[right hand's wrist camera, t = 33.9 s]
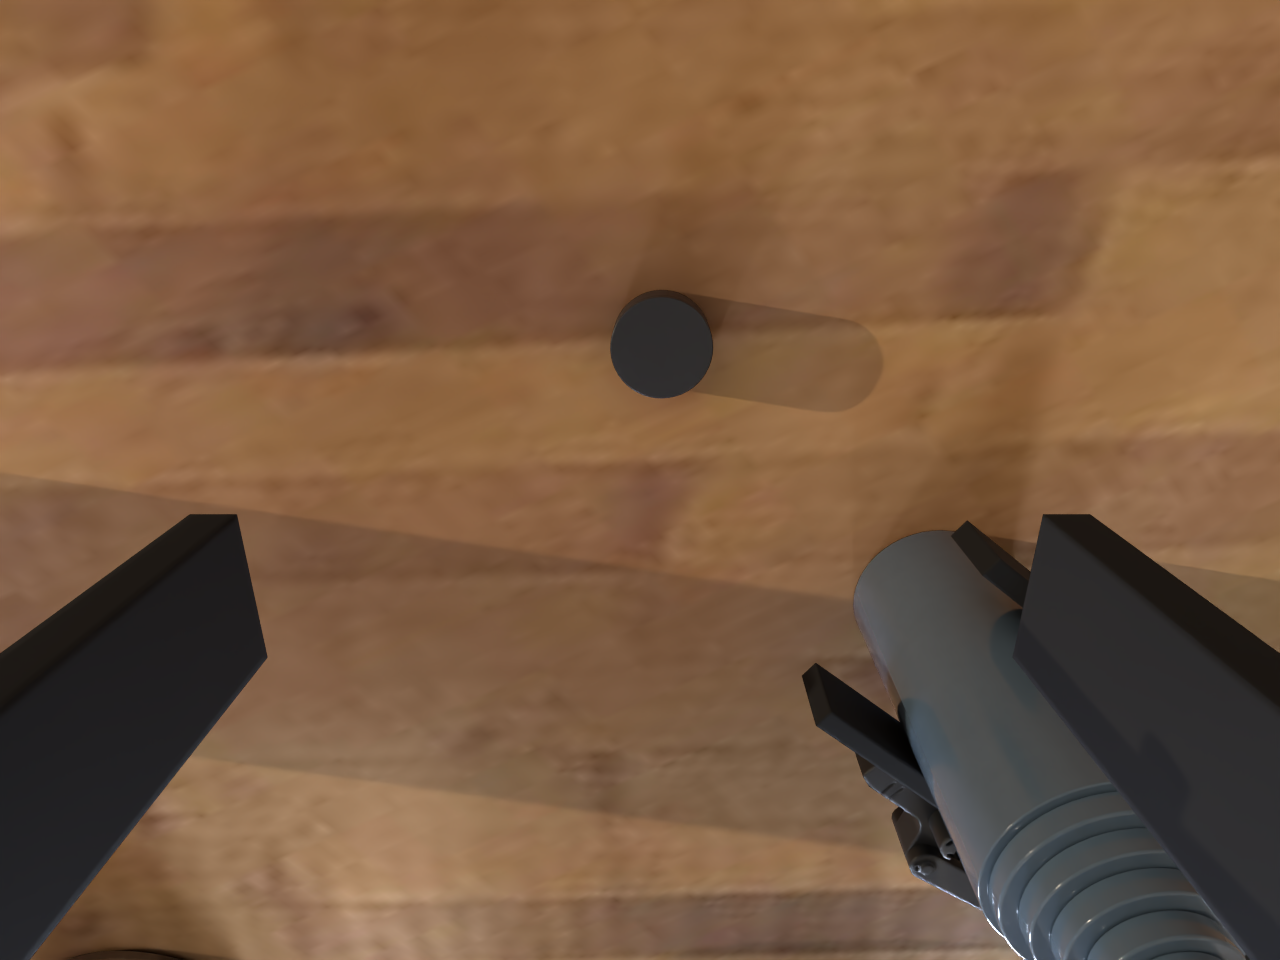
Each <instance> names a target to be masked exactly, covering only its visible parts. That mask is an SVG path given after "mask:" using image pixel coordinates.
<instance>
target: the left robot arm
mask: <svg viewBox="0 0 1280 960" xmlns="http://www.w3.org/2000/svg"><path fill="white" fill-rule="evenodd" d="M951 537H952V538H953V540H954V541H955V542H956V543H957V545H958V546H959V547H960V548H961V550H962V551H963V552H964V553H965V555H966V556H967V557H968V558H969V560H970V561H971V562H972V564H973V565H974V566H975V567H976V569H977V570H978V571H979V572H980V574H981V575H982V576H983V577H984V578H986V579H987V580H988V581H989V582H991V583H992V584H993V585H994V586H996V587H997V588H998V589H1000V590H1001V591H1002V592H1003V593H1005V594H1006V595H1007V596H1008V597H1010V598H1011V599H1012V600H1013V601H1015V602H1016V603H1017V604H1018V605H1020V606H1021V607H1022V608H1023V606H1024V601H1025V597H1026V592H1027V587H1028V583H1029V578H1030V573H1031V572H1030V571H1029V570H1028V569H1026V568H1025V567H1024V566H1023V565H1021V564H1020V563H1019V562H1018V561H1017V560H1015V559H1014V558H1013V557H1012V556H1010V555H1009V554H1008V553H1007V552H1005V551H1004V550H1003V549H1002V548H1001V547H999V546H998V545H997V544H996V543H994V542H993V541H992V540H991V539H989V538H988V537H987V536H986V535H985V534H983V533H982V532H981V531H980V530H978V529H977V528H976V527H975V526H973V525H972V524H971V523H970V522H969V521H966V522H965V523H964V524H963V525H962V526H961V527H960V528H959V529H958V530H957V531H956V532H954V533H953V534H952V535H951ZM802 678H803V682H804V685H805V689H806V692H807V696H808V699H809V703H810V706H811V710H812V714H813V717H814V721H815V724H816V726H817V727H819V728H820V729H822V730H823V731H825V732H826V733H828V734H829V735H830V736H832V737H833V738H835V739H836V740H838V741H839V742H841V743H842V744H844V745H845V746H847V747H848V748H849V749H851V750H852V751H854V752H855V754H856V757H857V760H858V763H859V766H860V769H861V772H862V775H863V777H864V779H865V781H866V782H867V784H868V785H869V787H871V788H872V789H874V790H875V791H877V792H878V793H881V795H883V796H884V797H885V798H887V799H889V800H890V801H891V802H893V803H894V804H896V805H897V806H899V807H898V808H897V809H895V810H894V812H893V813H892V820H893V823H894V826H895V829H896V832H897V835H898V837H899V840H900V843H901V846H902V849H903V851H904V854H905V857H906V860H907V862H908V865H909V868H910V870H911V873H912V874H913V875H914V876H916V877H917V878H919V879H921V880H923V881H925V882H927V883H929V884H931V885H933V886H935V887H937V888H939V889H941V890H943V891H945V892H947V893H949V894H951V895H953V896H955V897H956V898H958V899H960V900H962V901H964V902H966V903H968V904H970V905H972V906H974V907H976V908H978V909H980V910H982V909H981V907H980V904H979V902H978V900H977V897H976V895H975V893H974V891H973V888H972V886H971V884H970V881H969V879H968V877H967V875H966V872H965V870H964V868H963V865H962V863H961V861H960V859H959V856H958V854H957V852H956V849H955V847H954V845H953V842H952V840H951V838H950V836H949V833H948V831H947V829H946V826H945V824H944V822H943V820H942V817H941V815H940V813H939V810H938V808H937V806H936V803H935V801H934V799H933V797H932V794H931V792H930V790H929V787H928V785H927V783H926V781H925V778H924V776H923V774H922V771H921V769H920V767H919V764H918V762H917V760H916V758H915V755H914V753H913V751H912V748H911V746H910V744H909V742H908V739H907V737H906V735H905V732H904V730H903V728H902V725H901V723H900V722H899V721H897V720H896V719H895V718H893V717H892V716H890V715H889V714H887V713H886V712H885V711H883V710H882V709H880V708H879V707H878V706H876V705H875V704H873V703H872V702H870V701H869V700H868V699H866V698H865V697H863V696H862V695H861V694H859V693H858V692H856V691H855V690H854V689H852V688H851V687H849V686H848V685H846V684H845V683H844V682H842V681H841V680H839V679H838V678H837V677H835V676H834V675H832V674H831V673H829V672H828V671H827V670H825V669H824V668H822V667H821V666H820V665H818V664H817V663H815V664H814V665H813V666H812V667H811V668H810V669H809V670H808V671H806V672H805V673H804V674H803V675H802ZM1245 958H1246V960H1250V959H1249V957H1248V956H1247V955H1245Z"/></svg>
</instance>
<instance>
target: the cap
mask: <svg viewBox="0 0 1280 960" xmlns="http://www.w3.org/2000/svg"><path fill="white" fill-rule="evenodd" d="M610 351H611V358H612V362H613V365H614V368H615V370H616V372H617V373H618V375H619V377H620V378H621V379H622V381H623V382H624V383H625V384H626V385H627V386H629V387H630V388H631V389H633V390H634V391H636V392H638V393H640V394H642V395H645V396H648V397H653V398H670V397H675V396H678V395H681V394H683V393H685V392H687V391H689V390H690V389H692V388H693V387H694V386H695V385H697V384H698V383H699V381H700V380H701V379H702V378H703V377H704V375H705V374H706V372H707V370H708V368H709V365H710V363H711V359H712V354H713V341H712V335H711V332H710V329H709V326H708V323H707V320H706V318H705V316H704V314H703V312H702V311H701V309H700V308H699V307H698V306H697V305H696V304H695V303H694V302H693V301H692V300H691V299H689V298H687V297H686V296H684V295H682V294H680V293H677V292H673V291H668V290H656V291H651V292H647V293H644V294H641V295H640V296H638V297H636V298H634V299H633V300H632V301H630V302H629V303H628V304H627V305H626V306H625V307H624V309H623V310H622V311H621V313H620V314H619V316H618V318H617V320H616V323H615V326H614V330H613V334H612V337H611V347H610Z"/></svg>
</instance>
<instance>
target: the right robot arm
mask: <svg viewBox="0 0 1280 960" xmlns="http://www.w3.org/2000/svg"><path fill="white" fill-rule="evenodd" d="M266 659H267V653H266V648H265V643H264V639H263V634H262V629H261V625H260V620H259V615H258V611H257V606H256V601H255V597H254V592H253V587H252V583H251V578H250V573H249V569H248V564H247V559H246V555H245V550H244V545H243V541H242V536H241V531H240V527H239V522H238V517H237V514H190V515H188V516H187V517H186V518H184V519H183V520H182V521H180V522H179V523H177V524H176V525H175V526H173V527H172V528H171V529H169V530H168V531H167V532H165V533H164V534H162V535H161V536H160V537H158V538H157V539H156V540H154V541H153V542H152V543H150V544H149V545H147V546H146V547H145V548H143V549H142V550H141V551H139V552H138V553H137V554H135V555H134V556H132V557H131V558H130V559H128V560H127V561H126V562H124V563H123V564H122V565H120V566H119V567H117V568H116V569H115V570H113V571H112V572H111V573H109V574H108V575H107V576H105V577H104V578H102V579H101V580H100V581H98V582H97V583H96V584H94V585H93V586H92V587H90V588H89V589H87V590H86V591H85V592H83V593H82V594H81V595H79V596H78V597H77V598H75V599H74V600H72V601H71V602H70V603H68V604H67V605H66V606H64V607H63V608H62V609H60V610H59V611H57V612H56V613H55V614H53V615H52V616H51V617H49V618H48V619H47V620H45V621H44V622H42V623H41V624H40V625H38V626H37V627H36V628H34V629H33V630H32V631H30V632H29V633H27V634H26V635H25V636H23V637H22V638H21V639H19V640H18V641H17V642H15V643H14V644H12V645H11V646H10V647H8V648H7V649H6V650H4V651H3V652H2V653H0V960H30V959H31V957H32V956H33V955H34V954H35V952H36V951H37V950H38V948H39V947H40V946H41V945H42V943H43V942H44V941H45V940H46V938H47V937H48V936H49V934H50V933H51V932H52V931H53V929H54V928H55V927H56V926H57V924H58V923H59V922H60V921H61V919H62V918H63V917H64V915H65V914H66V913H67V912H68V910H69V909H70V908H71V907H72V905H73V904H74V903H75V901H76V900H77V899H78V898H79V896H80V895H81V894H82V893H83V891H84V890H85V889H86V887H87V886H88V885H89V884H90V882H91V881H92V880H93V879H94V877H95V876H96V875H97V873H98V872H99V871H100V870H101V868H102V867H103V866H104V865H105V863H106V862H107V861H108V860H109V858H110V857H111V856H112V854H113V853H114V852H115V851H116V849H117V848H118V847H119V846H120V844H121V843H122V842H123V840H124V839H125V838H126V837H127V835H128V834H129V833H130V832H131V830H132V829H133V828H134V826H135V825H136V824H137V823H138V821H139V820H140V819H141V818H142V816H143V815H144V814H145V812H146V811H147V810H148V809H149V807H150V806H151V805H152V804H153V802H154V801H155V800H156V799H157V797H158V796H159V795H160V793H161V792H162V791H163V790H164V788H165V787H166V786H167V785H168V783H169V782H170V781H171V779H172V778H173V777H174V776H175V774H176V773H177V772H178V771H179V769H180V768H181V767H182V765H183V764H184V763H185V762H186V760H187V759H188V758H189V757H190V755H191V754H192V753H193V751H194V750H195V749H196V748H197V746H198V745H199V744H200V743H201V741H202V740H203V739H204V738H205V736H206V735H207V734H208V732H209V731H210V730H211V729H212V727H213V726H214V725H215V724H216V722H217V721H218V720H219V718H220V717H221V716H222V715H223V713H224V712H225V711H226V710H227V708H228V707H229V706H230V704H231V703H232V702H233V701H234V699H235V698H236V697H237V696H238V694H239V693H240V692H241V691H242V689H243V688H244V687H245V685H246V684H247V683H248V682H249V680H250V679H251V678H252V677H253V675H254V674H255V673H256V671H257V670H258V669H259V668H260V666H261V665H262V664H263V663H264V661H265V660H266ZM1013 659H1014V660H1015V661H1016V663H1017V664H1018V665H1019V666H1020V668H1021V669H1022V670H1023V671H1024V673H1025V674H1026V675H1027V677H1028V678H1029V679H1030V680H1031V682H1032V683H1033V684H1034V685H1035V687H1036V688H1037V689H1038V691H1039V692H1040V693H1041V694H1042V696H1043V697H1044V698H1045V699H1046V701H1047V702H1048V703H1049V704H1050V706H1051V707H1052V708H1053V710H1054V711H1055V712H1056V713H1057V715H1058V716H1059V717H1060V718H1061V720H1062V721H1063V722H1064V724H1065V725H1066V726H1067V727H1068V729H1069V730H1070V731H1071V732H1072V734H1073V735H1074V736H1075V738H1076V739H1077V740H1078V741H1079V743H1080V744H1081V745H1082V746H1083V748H1084V749H1085V750H1086V752H1087V753H1088V754H1089V755H1090V757H1091V758H1092V759H1093V760H1094V762H1095V763H1096V764H1097V765H1098V767H1099V768H1100V769H1101V771H1102V772H1103V773H1104V774H1105V776H1106V777H1107V778H1108V779H1109V781H1110V782H1111V783H1112V785H1113V786H1114V787H1115V788H1116V790H1117V791H1118V792H1119V793H1120V795H1121V796H1122V797H1123V799H1124V800H1125V801H1126V802H1127V804H1128V805H1129V806H1130V807H1131V809H1132V810H1133V811H1134V812H1135V814H1136V815H1137V816H1138V818H1139V819H1140V820H1141V821H1142V823H1143V824H1144V825H1145V826H1146V828H1147V829H1148V830H1149V832H1150V833H1151V834H1152V835H1153V837H1154V838H1155V839H1156V840H1157V842H1158V843H1159V844H1160V846H1161V847H1162V848H1163V849H1164V851H1165V852H1166V853H1167V854H1168V856H1169V857H1170V858H1171V860H1172V861H1173V862H1174V863H1175V865H1176V866H1177V867H1178V868H1179V870H1180V871H1181V872H1182V873H1183V875H1184V876H1185V877H1186V879H1187V880H1188V881H1189V882H1190V884H1191V885H1192V886H1193V887H1194V889H1195V890H1196V891H1197V893H1198V894H1199V895H1200V896H1201V898H1202V899H1203V900H1204V901H1205V903H1206V904H1207V905H1208V907H1209V908H1210V909H1211V910H1212V912H1213V913H1214V914H1215V915H1216V917H1217V918H1218V919H1219V921H1220V922H1221V923H1222V924H1223V926H1224V927H1225V928H1226V929H1227V931H1228V932H1229V933H1230V934H1231V936H1232V937H1233V938H1234V940H1235V941H1236V942H1237V943H1238V945H1239V946H1240V947H1241V948H1242V950H1243V951H1244V952H1245V954H1246V955H1247V956H1248V957H1249V959H1250V960H1280V653H1278V652H1277V651H1276V650H1274V649H1273V648H1272V647H1270V646H1269V645H1267V644H1266V643H1265V642H1263V641H1262V640H1261V639H1259V638H1258V637H1257V636H1255V635H1254V634H1253V633H1251V632H1250V631H1248V630H1247V629H1246V628H1244V627H1243V626H1242V625H1240V624H1239V623H1238V622H1236V621H1235V620H1233V619H1232V618H1231V617H1229V616H1228V615H1227V614H1225V613H1224V612H1223V611H1221V610H1220V609H1218V608H1217V607H1216V606H1214V605H1213V604H1212V603H1210V602H1209V601H1208V600H1206V599H1205V598H1203V597H1202V596H1201V595H1199V594H1198V593H1197V592H1195V591H1194V590H1193V589H1191V588H1190V587H1188V586H1187V585H1186V584H1184V583H1183V582H1182V581H1180V580H1179V579H1178V578H1176V577H1175V576H1173V575H1172V574H1171V573H1169V572H1168V571H1167V570H1165V569H1164V568H1163V567H1161V566H1160V565H1158V564H1157V563H1156V562H1154V561H1153V560H1152V559H1150V558H1149V557H1148V556H1146V555H1145V554H1143V553H1142V552H1141V551H1139V550H1138V549H1137V548H1135V547H1134V546H1133V545H1131V544H1130V543H1128V542H1127V541H1126V540H1124V539H1123V538H1122V537H1120V536H1119V535H1118V534H1116V533H1115V532H1113V531H1112V530H1111V529H1109V528H1108V527H1107V526H1105V525H1104V524H1103V523H1101V522H1100V521H1098V520H1097V519H1096V518H1094V517H1093V516H1092V515H1090V514H1043V517H1042V522H1041V527H1040V531H1039V536H1038V541H1037V545H1036V550H1035V555H1034V559H1033V564H1032V569H1031V573H1030V578H1029V583H1028V587H1027V592H1026V597H1025V601H1024V606H1023V611H1022V615H1021V620H1020V625H1019V629H1018V634H1017V639H1016V643H1015V648H1014V653H1013ZM68 960H179V959H176V958H172V957H168V956H163V955H158V954H152V953H146V952H136V951H105V952H96V953H90V954H85V955H80V956H77V957H74V958H71V959H68Z"/></svg>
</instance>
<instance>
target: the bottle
mask: <svg viewBox="0 0 1280 960" xmlns="http://www.w3.org/2000/svg"><path fill="white" fill-rule="evenodd" d="M953 533H954V531H943V530H940V531H927V532H921V533H917V534H913V535H910V536H908V537H905V538H902V539H900V540H898V541H896V542H894V543H892V544H891V545H889V546H888V547H886V548H885V549H883V550H882V551H881V552H880V553H879V554H878V555H876V556H875V557H874V559H873V560H872V561H871V562H870V563H869V564H868V565H867V567H866V568H865V570H864V571H863V573H862V575H861V577H860V578H859V581H858V583H857V586H856V589H855V594H854V603H853V606H854V615H855V619H856V622H857V624H858V627H859V629H860V631H861V634H862V636H863V638H864V641H865V643H866V645H867V648H868V650H869V652H870V654H871V657H872V659H873V661H874V664H875V666H876V668H877V670H878V673H879V675H880V677H881V680H882V682H883V684H884V687H885V689H886V691H887V693H888V696H889V698H890V700H891V703H892V705H893V707H894V709H895V712H896V714H897V716H898V719H899V721H900V723H901V725H902V728H903V730H904V732H905V735H906V737H907V739H908V742H909V744H910V746H911V748H912V751H913V753H914V755H915V758H916V760H917V762H918V764H919V767H920V769H921V771H922V774H923V776H924V778H925V781H926V783H927V785H928V787H929V790H930V792H931V794H932V797H933V799H934V801H935V803H936V806H937V808H938V810H939V813H940V815H941V817H942V820H943V822H944V824H945V826H946V829H947V831H948V833H949V836H950V838H951V840H952V842H953V845H954V847H955V849H956V852H957V854H958V856H959V859H960V861H961V863H962V865H963V868H964V870H965V872H966V875H967V877H968V879H969V881H970V884H971V886H972V888H973V891H974V893H975V895H976V897H977V900H978V902H979V904H980V907H981V909H982V911H983V914H984V916H985V917H986V919H987V920H988V922H989V923H990V925H991V926H992V927H993V928H994V929H995V930H996V931H997V932H998V933H999V934H1000V935H1001V936H1003V937H1004V938H1005V940H1006V941H1007V943H1008V944H1009V946H1010V947H1011V948H1012V949H1013V950H1014V951H1015V952H1016V953H1017V954H1018V955H1019V956H1020V957H1022V958H1023V959H1024V960H1246V958H1245V955H1246V954H1245V952H1244V951H1243V950H1242V948H1241V947H1240V946H1239V945H1238V943H1237V942H1236V941H1235V940H1234V938H1233V937H1232V936H1231V934H1230V933H1229V932H1228V931H1227V929H1226V928H1225V927H1224V926H1223V924H1222V923H1221V922H1220V921H1219V919H1218V918H1217V917H1216V915H1215V914H1214V913H1213V912H1212V910H1211V909H1210V908H1209V907H1208V905H1207V904H1206V903H1205V901H1204V900H1203V899H1202V898H1201V896H1200V895H1199V894H1198V893H1197V891H1196V890H1195V889H1194V887H1193V886H1192V885H1191V884H1190V882H1189V881H1188V880H1187V879H1186V877H1185V876H1184V875H1183V873H1182V872H1181V871H1180V870H1179V868H1178V867H1177V866H1176V865H1175V863H1174V862H1173V861H1172V860H1171V858H1170V857H1169V856H1168V854H1167V853H1166V852H1165V851H1164V849H1163V848H1162V847H1161V846H1160V844H1159V843H1158V842H1157V840H1156V839H1155V838H1154V837H1153V835H1152V834H1151V833H1150V832H1149V830H1148V829H1147V828H1146V826H1145V825H1144V824H1143V823H1142V821H1141V820H1140V819H1139V818H1138V816H1137V815H1136V814H1135V812H1134V811H1133V810H1132V809H1131V807H1130V806H1129V805H1128V804H1127V802H1126V801H1125V800H1124V799H1123V797H1122V796H1121V795H1120V793H1119V792H1118V791H1117V790H1116V788H1115V787H1114V786H1113V785H1112V783H1111V782H1110V781H1109V779H1108V778H1107V777H1106V776H1105V774H1104V773H1103V772H1102V771H1101V769H1100V768H1099V767H1098V765H1097V764H1096V763H1095V762H1094V760H1093V759H1092V758H1091V757H1090V755H1089V754H1088V753H1087V752H1086V750H1085V749H1084V748H1083V746H1082V745H1081V744H1080V743H1079V741H1078V740H1077V739H1076V738H1075V736H1074V735H1073V734H1072V732H1071V731H1070V730H1069V729H1068V727H1067V726H1066V725H1065V724H1064V722H1063V721H1062V720H1061V718H1060V717H1059V716H1058V715H1057V713H1056V712H1055V711H1054V710H1053V708H1052V707H1051V706H1050V704H1049V703H1048V702H1047V701H1046V699H1045V698H1044V697H1043V696H1042V694H1041V693H1040V692H1039V691H1038V689H1037V688H1036V687H1035V685H1034V684H1033V683H1032V682H1031V680H1030V679H1029V678H1028V677H1027V675H1026V674H1025V673H1024V671H1023V670H1022V669H1021V668H1020V666H1019V665H1018V664H1017V663H1016V661H1015V660H1014V659H1013V653H1014V648H1015V643H1016V639H1017V634H1018V629H1019V625H1020V620H1021V615H1022V611H1023V608H1022V607H1021V606H1020V605H1018V604H1017V603H1016V602H1015V601H1013V600H1012V599H1011V598H1010V597H1008V596H1007V595H1006V594H1005V593H1003V592H1002V591H1001V590H1000V589H998V588H997V587H996V586H994V585H993V584H992V583H991V582H989V581H988V580H987V579H986V578H984V577H983V576H982V575H981V574H980V572H979V571H978V570H977V569H976V567H975V566H974V565H973V564H972V562H971V561H970V560H969V558H968V557H967V556H966V555H965V553H964V552H963V551H962V550H961V548H960V547H959V546H958V545H957V543H956V542H955V541H954V540H953V538H952V537H951V535H952V534H953Z"/></svg>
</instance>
